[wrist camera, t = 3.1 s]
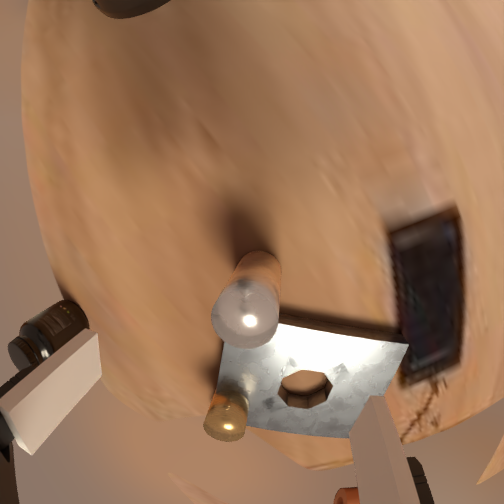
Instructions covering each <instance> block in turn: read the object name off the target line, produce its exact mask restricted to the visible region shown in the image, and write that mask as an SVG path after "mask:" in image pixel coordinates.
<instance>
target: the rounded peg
mask: <svg viewBox="0 0 504 504" xmlns="http://www.w3.org/2000/svg"><path fill="white" fill-rule="evenodd" d="M280 290H281V266H280V264H279V262H278V260H277V259H276V258H275V257H274V256H273V255H271V254H270V253H267V252H264V251H253V252H250V253H248V254H246V255H245V256H244V257H243V258H242V259H241V260H240V262H239V264H238V265H237V267H236V269H235V270H234V272H233V274H232V275H231V277H230V279H229V280H228V282H227V284H226V286H225V287H224V289H223V291H222V292H221V294H220V296H219V297H218V299H217V301H216V303H215V304H214V306H213V309H212V314H211V320H212V325H213V328H214V330H215V332H216V333H217V335H218V336H219V337H220V338H221V339H222V340H223V341H225V342H226V343H228V344H229V345H231V346H234V347H237V348H242V349H252V348H257V347H260V346H262V345H264V344H266V343H267V342H269V341H270V340H271V339H272V338H273V336H274V335H275V333H276V331H277V328H278V320H279V305H280Z"/></svg>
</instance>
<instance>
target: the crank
mask: <svg viewBox="0 0 504 504" xmlns="http://www.w3.org/2000/svg"><path fill="white" fill-rule="evenodd" d="M334 504H360V499H359V492H358V487H352V488H340V489H339V490H338V491H337V493H336V495H335V499H334Z"/></svg>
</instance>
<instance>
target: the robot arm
mask: <svg viewBox="0 0 504 504" xmlns="http://www.w3.org/2000/svg"><path fill="white" fill-rule="evenodd" d="M169 1H170V0H93V3H94V5H95V6H96V7H97V9H99V10H100V11H101V12H103V13H104V14H105V15H107V16H108V17H111V18H117V19H124V18H131V17H135V16H139V15H142V14H145V13H147V12H150V11H152V10H154V9H156V8H158V7H160V6H162V5H164V4H165V3H167V2H169ZM101 376H102V371H101V363H100V354H99V344H98V333H96V332H94V331H91V330H89V329H86V328H85V329H84V330H83V331H81V332H80V333H79V334H78V335H76V336H75V337H74V338H72V339H71V340H70V341H69V342H67V343H66V344H65V345H64V346H62V347H61V348H60V349H59V350H58V351H56V352H55V353H54V354H53V355H51V356H50V357H49V358H48V359H46V360H45V361H44V362H43V363H42V364H40V365H39V366H38V367H37V368H35V367H33V366H29V367H27V368H24V369H22V370H21V371H19V372H18V373H17V374H16V375H15V377H12V378H11V379H10V380H9V381H7V382H6V383H5V384H4V385H2V386H1V387H0V504H19V499H18V492H17V485H16V477H15V468H14V455H13V454H14V453H13V445H12V440H13V439H14V438H15V439H16V441H17V443H18V445H19V446H20V447H21V448H23V449H24V450H25V451H26V452H28V453H29V454H30V455H33V454H34V452H35V451H36V450H37V449H38V448H39V447H40V445H41V444H42V443H43V442H44V441H45V439H46V438H47V437H48V436H49V435H50V434H51V432H52V431H53V430H54V429H55V428H56V427H57V425H58V424H59V423H60V422H61V421H62V420H63V419H64V417H65V416H66V415H67V414H68V413H69V412H70V411H71V410H72V408H73V407H74V406H75V405H76V404H77V403H78V402H79V400H80V399H81V398H82V397H83V396H84V395H85V394H86V393H87V392H88V390H89V389H90V388H91V387H92V386H93V385H94V384H95V382H97V380H98V379H99V378H100V377H101ZM349 438H350V443H351V449H352V454H353V460H354V466H355V473H356V478H357V485H358V492H359V499H360V504H434V501H433V497H432V494H431V491H430V488H429V485H428V484H427V479H426V476H424V475H425V474H424V471H423V468H422V465H421V464H420V462H419V461H418V460H417V459H416V458H415V457H407V458H406V456H405V453H404V450H403V447H402V444H401V441H400V438H399V435H398V432H397V429H396V427H395V424H394V421H393V418H392V416H391V413H390V410H389V408H388V405H387V402H386V400H385V397H384V396H372V395H370V396H369V398H368V400H367V402H366V404H365V406H364V408H363V409H362V411H361V413H360V415H359V417H358V418H357V420H356V422H355V424H354V425H353V427H352V429H351V430H350V432H349Z"/></svg>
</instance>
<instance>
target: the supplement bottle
mask: <svg viewBox="0 0 504 504" xmlns="http://www.w3.org/2000/svg"><path fill="white" fill-rule="evenodd" d="M85 328H86V329H89V325H88V321H87V319H86V316H85V315H84V313H83V312H82V310H81V309H80V308H79V307H78V306H77V305H76V304H74V303H73V302H71V301H68V300H62V301H59V302H57V303H56V304H54V305H52V306H51V307H49V308H47V309H46V310H44V311H42V312H41V313H39V314H37V315H36V316H34V317H33V318H31V319H29V320H28V321H26V322H25V323H24V324H23V325H22V326H21V328H20V332H19V336H17V337H16V338H15V339H14V340H12V341H11V342H10V343H9V344H8V351H9V355H10V357H11V360H12V361H13V363H14V365H15V366H16V367H17V368H18V370H19V371H21V370H22V369H24V368H27V367H29V366H33V367H35V368H37V367H38V366H39V365H40V364H42V363H43V362H44V361H45V360H46V359H48V358H49V357H50V356H51V355H53V354H54V353H55V352H56V351H58V350H59V349H60V348H61V347H62V346H64V345H65V344H66V343H67V342H69V341H70V340H71V339H72V338H74V337H75V336H76V335H78V334H79V333H80V332H81V331H83V330H84V329H85Z"/></svg>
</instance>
